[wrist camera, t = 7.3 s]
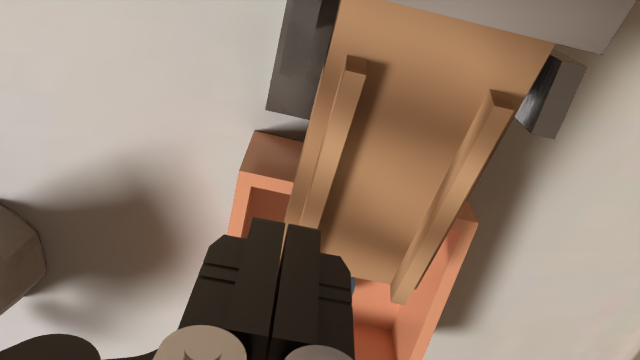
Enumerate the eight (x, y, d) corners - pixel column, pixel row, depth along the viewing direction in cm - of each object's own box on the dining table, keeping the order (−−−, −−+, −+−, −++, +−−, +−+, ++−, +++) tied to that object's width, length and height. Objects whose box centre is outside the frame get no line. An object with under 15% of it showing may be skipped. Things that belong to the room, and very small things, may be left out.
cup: (254, 130, 35) (239, 170, 30) (455, 176, 37) (479, 222, 31) (222, 297, 41) (204, 358, 35) (396, 331, 42) (406, 396, 37)
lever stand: (324, -183, 28) (320, -265, 16) (556, -118, 29) (710, -151, 17) (267, 104, 35) (235, 193, 23) (458, 148, 36) (521, 254, 24)
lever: (412, -288, 15) (425, -287, 11) (673, -210, 16) (777, -182, 12) (279, 240, 30) (263, 323, 26) (414, 268, 31) (420, 354, 27)
